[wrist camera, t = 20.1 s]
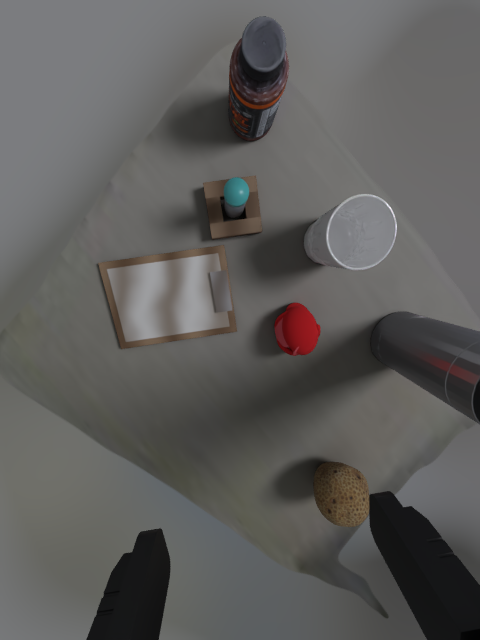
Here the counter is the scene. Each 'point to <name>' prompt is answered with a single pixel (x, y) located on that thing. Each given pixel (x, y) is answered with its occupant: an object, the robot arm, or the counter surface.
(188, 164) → the counter surface
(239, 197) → the marker
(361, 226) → the white cup
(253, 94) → the supplement bottle
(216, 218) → the marker stand
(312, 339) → the cap
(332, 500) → the natural sponge
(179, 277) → the clipboard
